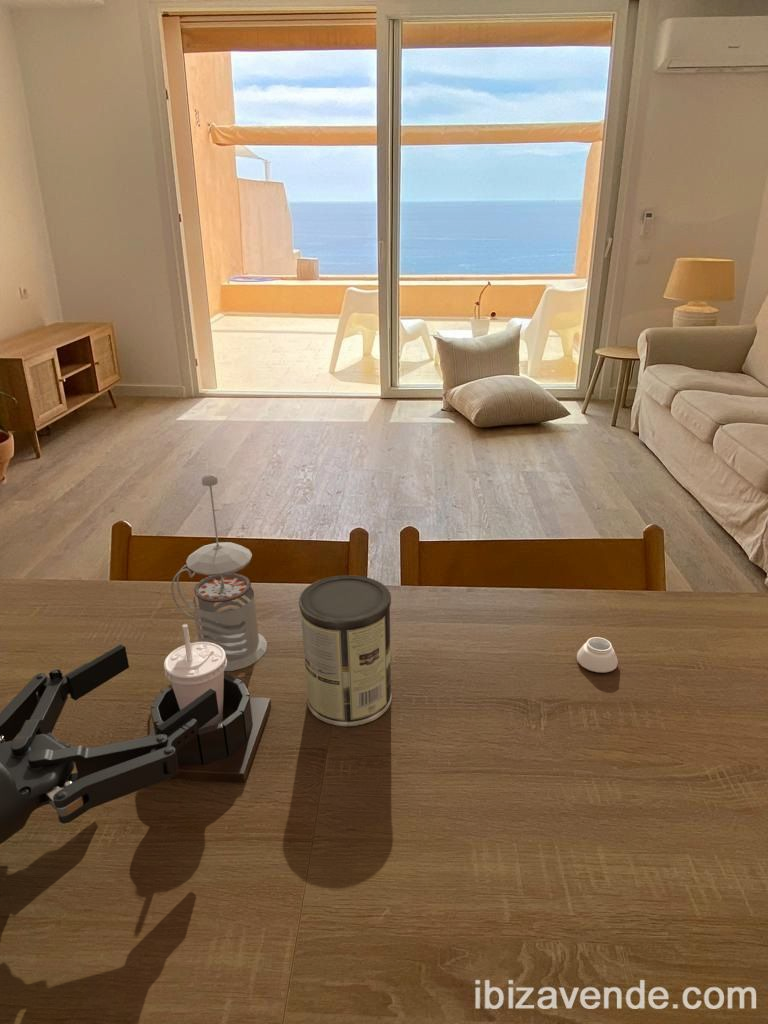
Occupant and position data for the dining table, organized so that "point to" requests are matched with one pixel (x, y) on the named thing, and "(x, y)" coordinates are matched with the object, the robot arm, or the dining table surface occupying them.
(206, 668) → the smoothie
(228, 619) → the french press
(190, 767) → the cup holder
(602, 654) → the upturned white bowl
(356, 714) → the coffee can
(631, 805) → the dining table surface
